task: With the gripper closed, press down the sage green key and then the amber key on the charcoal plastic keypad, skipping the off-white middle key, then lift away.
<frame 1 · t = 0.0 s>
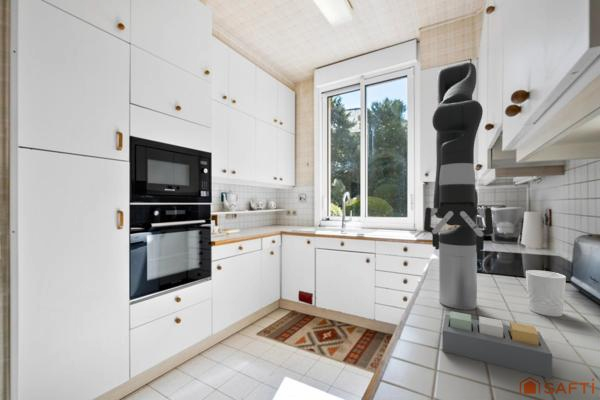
hand: (456, 250, 66), 17 cm above the counter, tool pointing down, fingers open, 8 cm apart
amber key: (523, 333, 50), point 5 cm above the counter, slide at 0.0 cm
white cup: (545, 312, 72), on the counter
off-white key: (490, 326, 53), point 5 cm above the counter, slide at 0.0 cm
sage green key: (460, 321, 55), point 5 cm above the counter, slide at 0.0 cm
keypad: (490, 351, 53), on the counter
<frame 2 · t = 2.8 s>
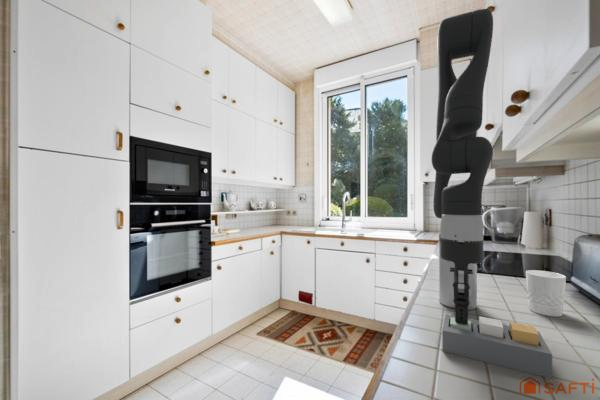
hand: (461, 322, 55), 5 cm above the counter, tool pointing down, fingers closed
sage green key: (460, 327, 55), point 4 cm above the counter, slide at 1.3 cm, touching gripper
everything else where it was.
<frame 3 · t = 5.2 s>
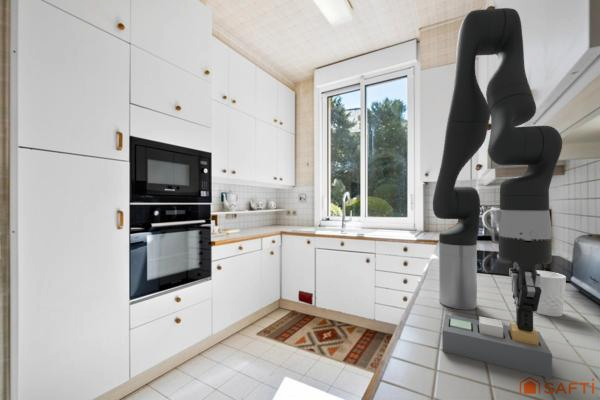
hand: (524, 329, 50), 6 cm above the counter, tool pointing down, fingers closed
amber key: (523, 334, 50), point 5 cm above the counter, slide at 0.2 cm, touching gripper
sage green key: (460, 328, 55), point 3 cm above the counter, slide at 1.5 cm
everything else where it was.
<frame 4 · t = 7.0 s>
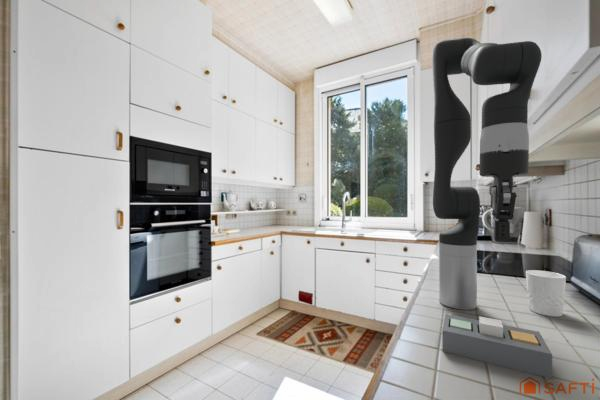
hand: (501, 241, 52), 21 cm above the counter, tool pointing down, fingers closed
amber key: (523, 341, 50), point 3 cm above the counter, slide at 1.5 cm
everything else where it was.
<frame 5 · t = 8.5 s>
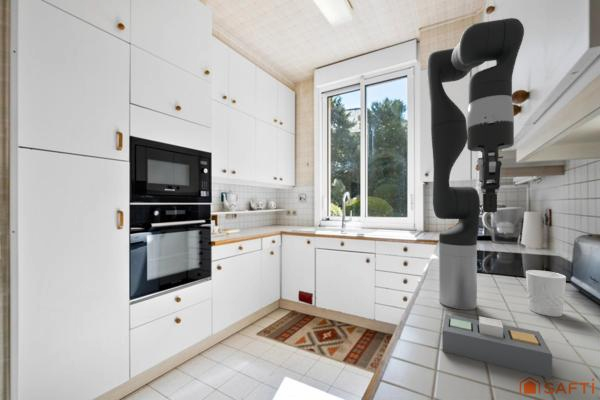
hand: (489, 212, 54), 27 cm above the counter, tool pointing down, fingers closed
nothing on the counter moved.
at the end: sage green key slide at 1.5 cm; amber key slide at 1.5 cm; off-white key slide at 0.0 cm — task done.
